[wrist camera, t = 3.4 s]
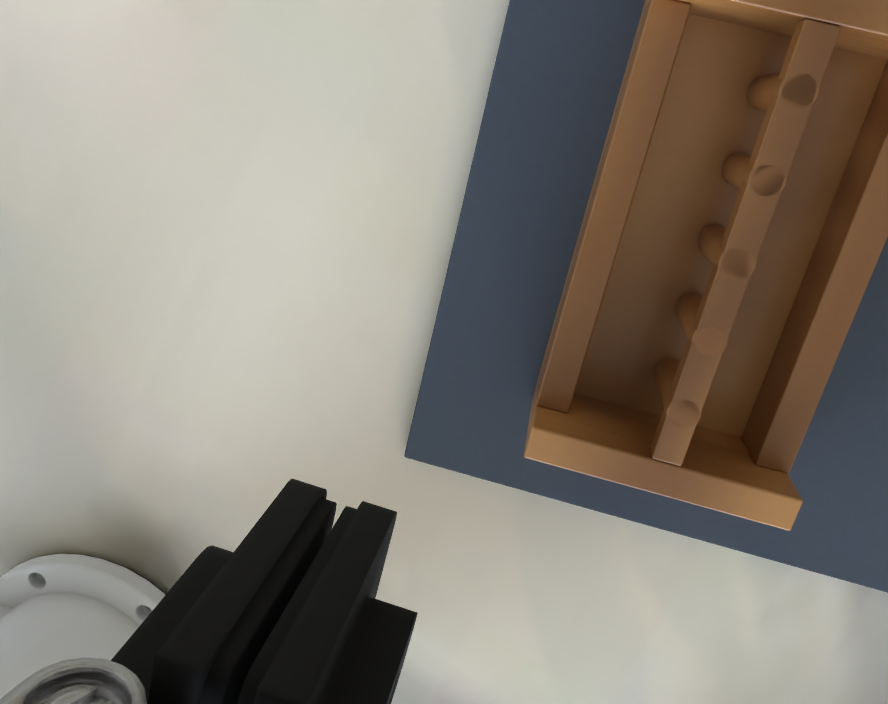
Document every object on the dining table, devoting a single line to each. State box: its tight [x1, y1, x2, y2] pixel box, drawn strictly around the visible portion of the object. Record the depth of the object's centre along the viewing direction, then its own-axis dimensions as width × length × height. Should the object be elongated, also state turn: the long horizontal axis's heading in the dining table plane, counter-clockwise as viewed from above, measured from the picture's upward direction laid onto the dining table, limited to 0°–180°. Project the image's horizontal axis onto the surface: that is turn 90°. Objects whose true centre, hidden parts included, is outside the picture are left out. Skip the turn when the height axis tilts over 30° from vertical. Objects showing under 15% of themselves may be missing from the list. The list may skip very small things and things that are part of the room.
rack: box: [524, 0, 888, 531], centre depth 26 cm, size 9×16×6 cm, turn 167°
